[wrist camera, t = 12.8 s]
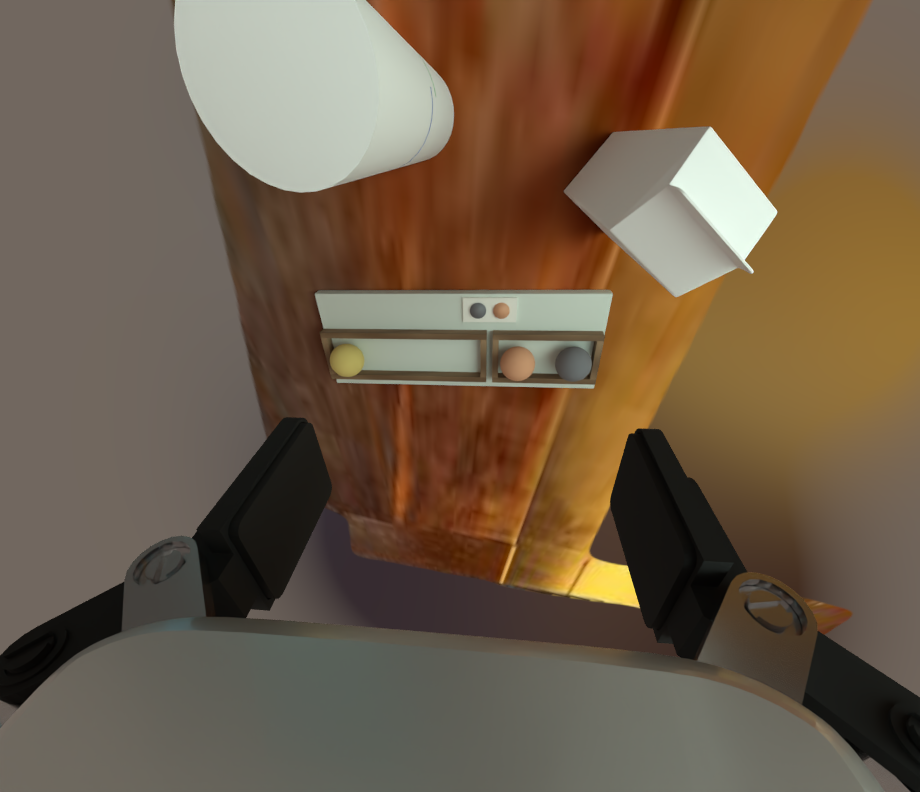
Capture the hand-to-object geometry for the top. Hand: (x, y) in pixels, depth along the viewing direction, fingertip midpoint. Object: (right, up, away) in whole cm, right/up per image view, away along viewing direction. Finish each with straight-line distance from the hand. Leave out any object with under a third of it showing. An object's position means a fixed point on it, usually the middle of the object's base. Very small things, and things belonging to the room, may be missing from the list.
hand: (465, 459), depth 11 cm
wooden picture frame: (-7, +7, +35) cm, 36 cm away
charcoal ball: (+13, +6, +31) cm, 34 cm away
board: (0, +9, +34) cm, 36 cm away
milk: (+14, +22, +24) cm, 35 cm away
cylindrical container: (-4, +27, +23) cm, 36 cm away
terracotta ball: (+6, +6, +32) cm, 33 cm away
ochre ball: (-14, +6, +34) cm, 37 cm away
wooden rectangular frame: (+10, +7, +33) cm, 35 cm away
